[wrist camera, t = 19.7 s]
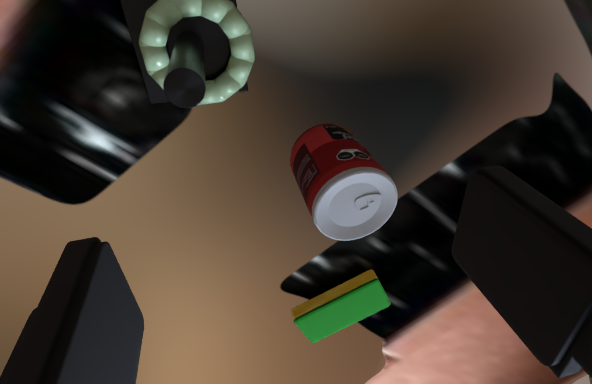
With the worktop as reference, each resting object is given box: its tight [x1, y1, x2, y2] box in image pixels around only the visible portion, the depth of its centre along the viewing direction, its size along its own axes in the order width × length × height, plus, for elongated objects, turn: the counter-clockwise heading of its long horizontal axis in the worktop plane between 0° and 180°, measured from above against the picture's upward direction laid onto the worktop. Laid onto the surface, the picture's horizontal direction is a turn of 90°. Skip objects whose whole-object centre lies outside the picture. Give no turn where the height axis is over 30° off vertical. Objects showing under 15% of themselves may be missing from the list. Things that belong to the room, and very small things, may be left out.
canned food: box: [290, 124, 398, 241], centre depth 37 cm, size 8×8×11 cm
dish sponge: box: [292, 269, 391, 343], centre depth 55 cm, size 7×14×2 cm, turn 115°
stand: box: [120, 0, 248, 108], centre depth 27 cm, size 9×9×13 cm
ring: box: [139, 0, 255, 105], centre depth 30 cm, size 9×9×2 cm
